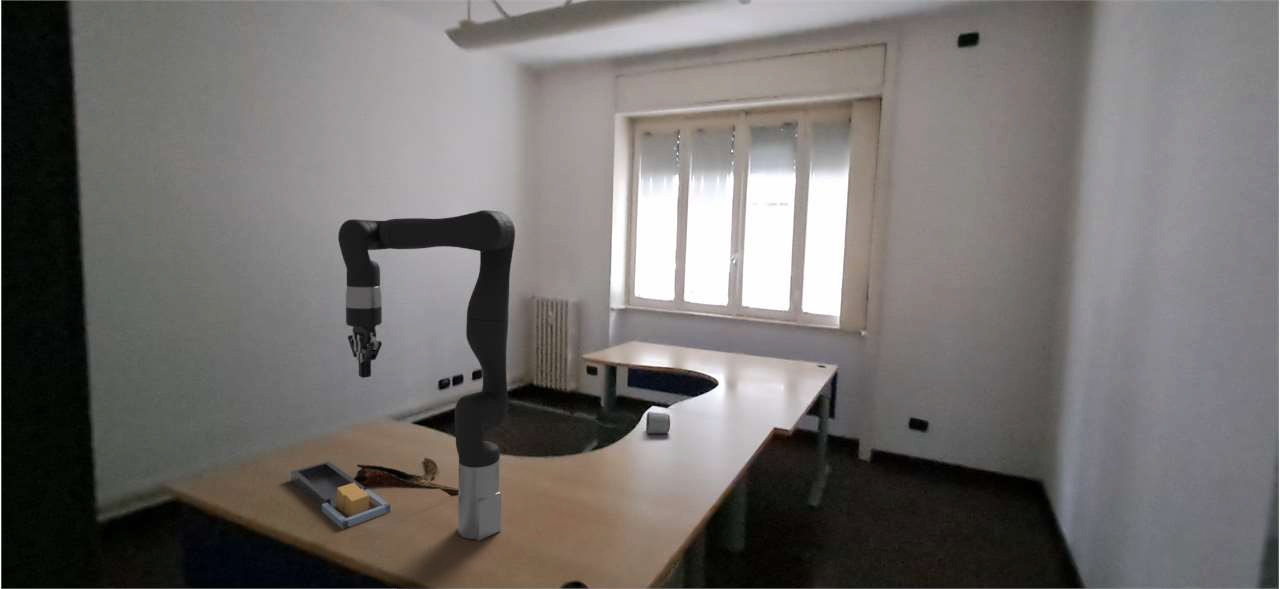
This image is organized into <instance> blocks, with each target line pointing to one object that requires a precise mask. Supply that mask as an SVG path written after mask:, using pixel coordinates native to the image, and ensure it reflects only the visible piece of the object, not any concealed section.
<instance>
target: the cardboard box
mask: <svg viewBox="0 0 1280 589" xmlns="http://www.w3.org/2000/svg"><path fill="white" fill-rule="evenodd" d="M369 506H370V502H369V495H368V494H367V493H366V492H365V491H364V490H363V489H359V490H356V491H352V492H349V493H346V494H345V504H344V511H343V512H344V513H345V514H346V515H347V516H348V517H351V516H354V515H357V514H359V513H362V512H365V511H368V510H370V509H369V508H370V507H369Z"/></svg>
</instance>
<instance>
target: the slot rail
mask: <svg viewBox="0 0 1280 589" xmlns="http://www.w3.org/2000/svg"><path fill="white" fill-rule="evenodd" d="M290 481H291V482H292V483H293V484H295V486H297V487H298V489H300V490H302V492H304V493H305V494H306V495H307V496H309V497H310V499H312V500H313V501H314V502H316V503H317V504H318V505H319V506H320V507H321V508H322V504H324V503H328V504H329V505H331V506H332V507H333V508H335V507H336V508H337V506H336V500H337V488H338V487H341V486H345V485H348V484H351V483H355V484H356V485H357V486H358V487H359V488H360V489H363V490H366V486H364V485H361V484H360V483H358V482H357V481H355V480H354V477H353V478H352V477H351V476H350V475H349V474H347V473H345V472H344V471H343V470H342V469H340V468H338V467H337V466H336V465H335V464H333V463H332V462H331V461H329V460H328V461H324V462H321V463H318V464H314V465H310V466H306V467H302V468H299V469H294V470H292V471H290Z"/></svg>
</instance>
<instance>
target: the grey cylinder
mask: <svg viewBox="0 0 1280 589" xmlns="http://www.w3.org/2000/svg"><path fill="white" fill-rule="evenodd" d="M645 421H646V422H645V424H646V425H645V426H646V434H668V433H669V432H670V429H671V416H670V414H668V413H664V412H653V411H648V412H647V414H646V420H645Z"/></svg>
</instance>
